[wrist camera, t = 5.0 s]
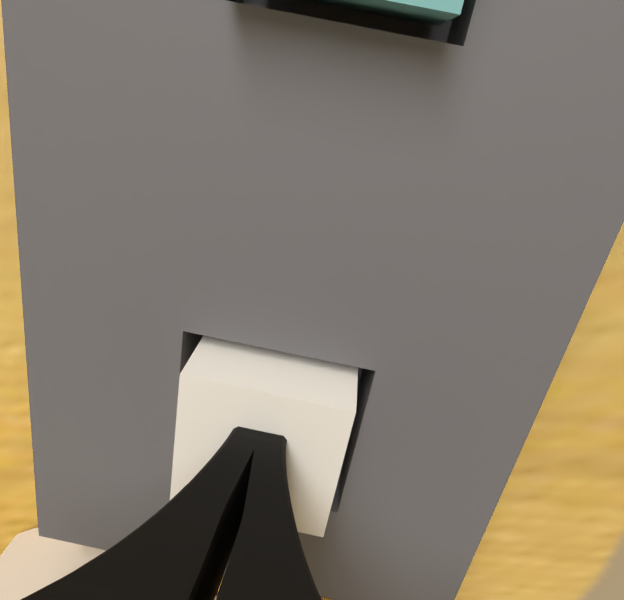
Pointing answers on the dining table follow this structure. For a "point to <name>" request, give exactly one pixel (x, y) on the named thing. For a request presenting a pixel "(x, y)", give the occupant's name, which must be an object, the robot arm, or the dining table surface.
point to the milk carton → (39, 563)
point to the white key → (268, 417)
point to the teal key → (405, 8)
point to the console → (310, 244)
